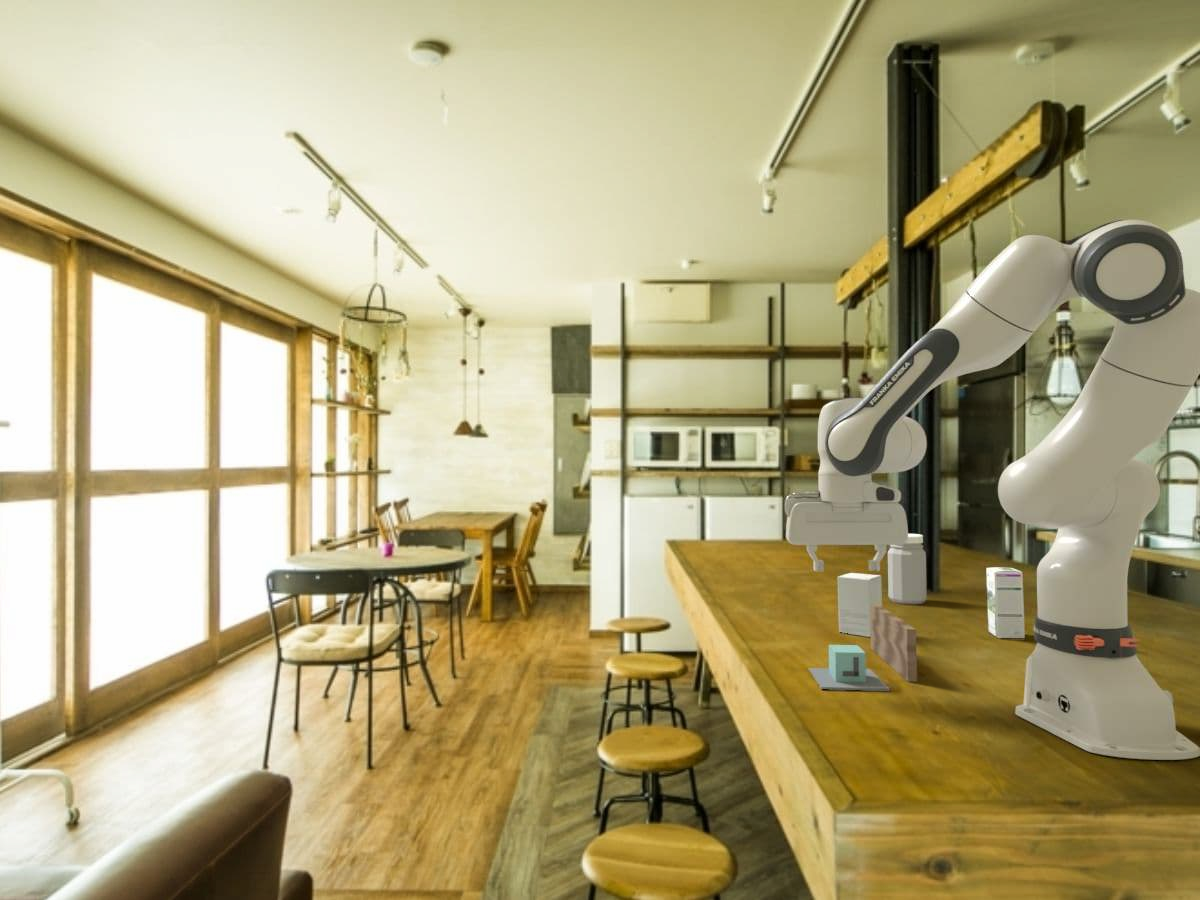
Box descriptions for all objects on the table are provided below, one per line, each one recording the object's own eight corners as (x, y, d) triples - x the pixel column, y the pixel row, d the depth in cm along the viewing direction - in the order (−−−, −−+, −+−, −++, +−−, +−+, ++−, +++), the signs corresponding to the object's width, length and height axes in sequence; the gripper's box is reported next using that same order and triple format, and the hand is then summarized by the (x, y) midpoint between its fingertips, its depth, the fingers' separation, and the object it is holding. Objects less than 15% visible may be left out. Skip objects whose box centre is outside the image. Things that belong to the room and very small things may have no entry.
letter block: (866, 682, 121) (865, 652, 121) (836, 682, 121) (835, 652, 121) (858, 673, 126) (857, 645, 126) (829, 673, 126) (828, 644, 126)
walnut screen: (916, 681, 122) (915, 629, 123) (907, 681, 122) (906, 629, 123) (878, 648, 144) (877, 604, 144) (870, 648, 144) (870, 604, 145)
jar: (892, 604, 188) (891, 536, 188) (884, 597, 198) (883, 532, 198) (932, 605, 186) (930, 536, 187) (921, 598, 196) (920, 533, 196)
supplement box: (883, 631, 158) (882, 575, 159) (870, 638, 153) (869, 579, 153) (851, 626, 163) (850, 571, 164) (837, 632, 158) (836, 575, 158)
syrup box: (1025, 639, 150) (1024, 571, 150) (995, 638, 151) (994, 570, 152) (1015, 633, 156) (1014, 567, 156) (986, 632, 157) (985, 566, 157)
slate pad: (889, 691, 117) (889, 688, 117) (821, 690, 118) (821, 687, 118) (870, 671, 128) (870, 669, 128) (808, 670, 129) (808, 668, 129)
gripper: (787, 492, 122) (788, 573, 122) (910, 491, 120) (912, 573, 120) (781, 491, 128) (782, 568, 128) (898, 490, 126) (900, 568, 126)
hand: (846, 570), depth 124 cm, fingers open, 8 cm apart
